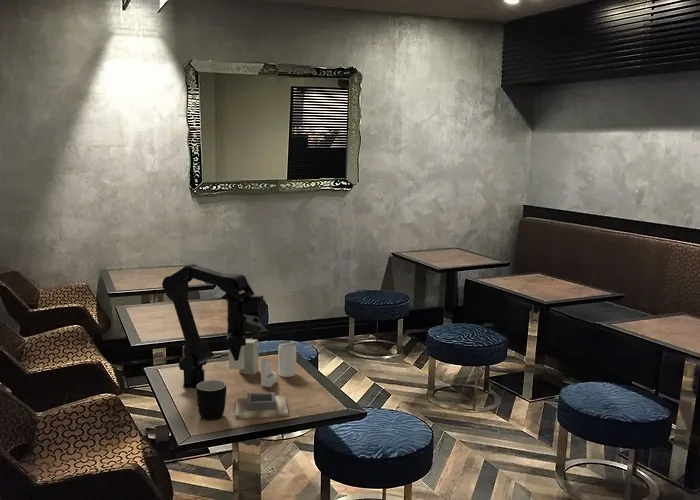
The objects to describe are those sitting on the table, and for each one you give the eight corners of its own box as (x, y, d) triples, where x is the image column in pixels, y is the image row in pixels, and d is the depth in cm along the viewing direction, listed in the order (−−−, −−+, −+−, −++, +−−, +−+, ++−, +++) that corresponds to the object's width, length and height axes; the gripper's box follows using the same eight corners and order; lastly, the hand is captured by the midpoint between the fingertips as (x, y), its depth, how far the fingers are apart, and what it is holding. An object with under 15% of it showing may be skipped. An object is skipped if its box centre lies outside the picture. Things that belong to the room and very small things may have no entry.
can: (299, 373, 229) (299, 342, 227) (288, 379, 223) (288, 347, 221) (285, 370, 232) (285, 339, 230) (274, 375, 227) (274, 343, 225)
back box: (247, 410, 193) (247, 403, 193) (247, 400, 201) (247, 393, 200) (276, 409, 195) (276, 402, 194) (275, 399, 202) (275, 392, 202)
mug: (230, 419, 189) (229, 387, 187) (200, 424, 185) (200, 392, 183) (219, 404, 200) (219, 374, 198) (191, 409, 195) (190, 379, 194)
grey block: (228, 369, 205) (228, 343, 204) (229, 365, 209) (229, 339, 208) (244, 368, 206) (244, 342, 205) (244, 364, 210) (244, 339, 209)
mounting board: (235, 418, 190) (235, 415, 190) (236, 400, 203) (236, 397, 203) (288, 416, 192) (288, 413, 192) (285, 398, 206) (285, 395, 206)
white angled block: (256, 383, 212) (260, 358, 215) (265, 388, 221) (269, 364, 224) (266, 384, 211) (271, 359, 214) (274, 389, 220) (278, 364, 223)
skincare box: (258, 371, 231) (258, 339, 229) (253, 375, 226) (253, 343, 224) (243, 369, 232) (243, 337, 230) (238, 373, 228) (237, 341, 226)
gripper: (261, 320, 197) (261, 367, 199) (260, 305, 215) (260, 348, 218) (225, 321, 195) (226, 368, 198) (227, 306, 213) (228, 349, 216)
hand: (236, 358), depth 207 cm, fingers closed on grey block, 4 cm apart
